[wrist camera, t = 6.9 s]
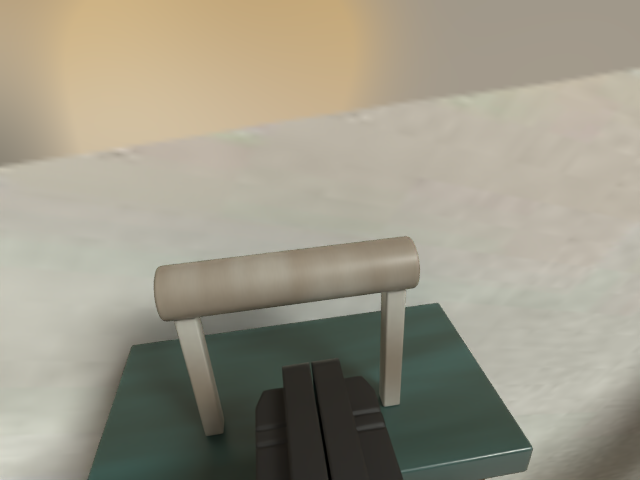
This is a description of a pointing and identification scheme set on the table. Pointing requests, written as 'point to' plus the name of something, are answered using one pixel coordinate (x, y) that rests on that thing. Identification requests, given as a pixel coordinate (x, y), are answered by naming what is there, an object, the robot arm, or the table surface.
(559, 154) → the table surface
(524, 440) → the drawer
